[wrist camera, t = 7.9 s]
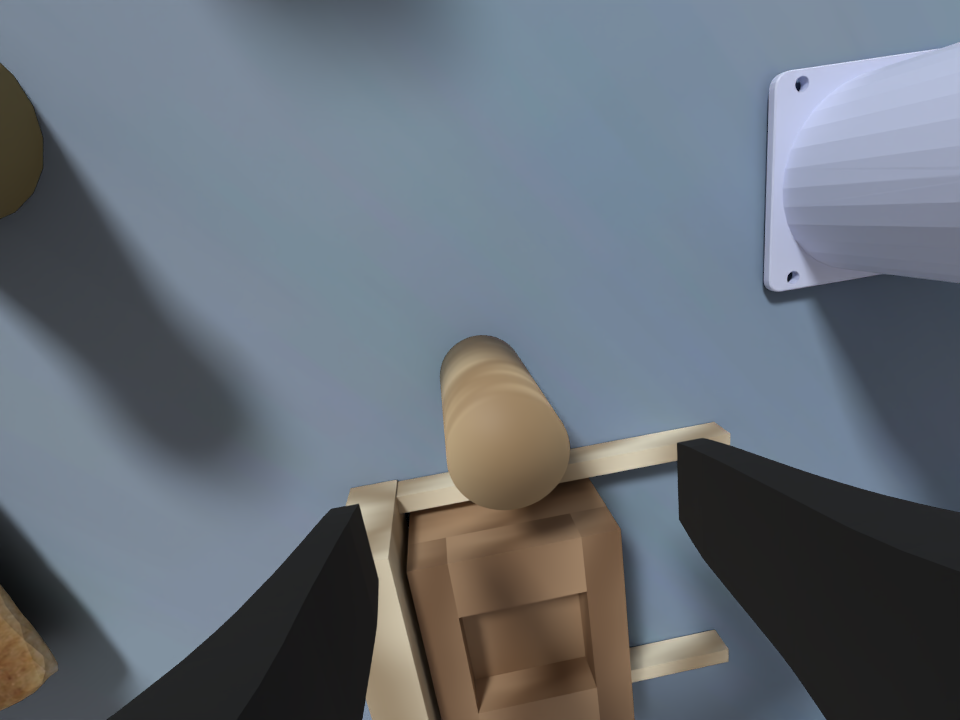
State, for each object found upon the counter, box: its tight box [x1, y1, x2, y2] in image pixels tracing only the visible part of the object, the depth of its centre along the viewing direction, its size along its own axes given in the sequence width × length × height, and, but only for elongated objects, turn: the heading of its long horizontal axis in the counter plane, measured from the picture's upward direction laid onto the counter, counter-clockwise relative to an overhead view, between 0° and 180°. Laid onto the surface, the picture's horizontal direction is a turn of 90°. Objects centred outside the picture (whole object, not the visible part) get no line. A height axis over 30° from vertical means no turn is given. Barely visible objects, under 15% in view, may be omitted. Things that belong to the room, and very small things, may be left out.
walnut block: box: [407, 478, 635, 720], centre depth 21 cm, size 8×10×4 cm
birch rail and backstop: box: [346, 422, 730, 720], centre depth 21 cm, size 16×13×5 cm
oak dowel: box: [440, 335, 570, 510], centre depth 16 cm, size 3×3×7 cm
